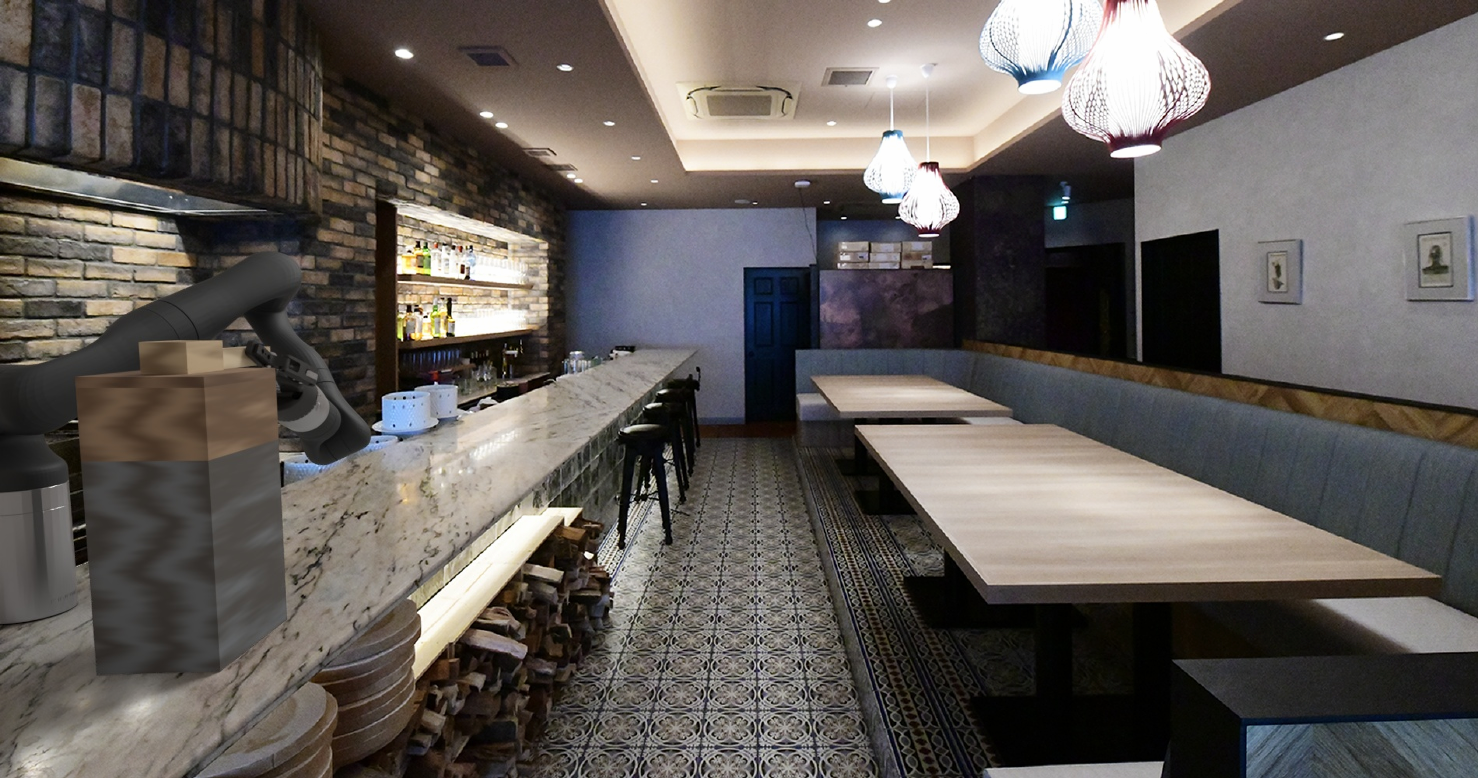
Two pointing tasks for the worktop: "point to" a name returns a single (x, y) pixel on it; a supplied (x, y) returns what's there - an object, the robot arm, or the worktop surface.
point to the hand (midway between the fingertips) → (234, 346)
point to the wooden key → (190, 357)
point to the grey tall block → (181, 517)
